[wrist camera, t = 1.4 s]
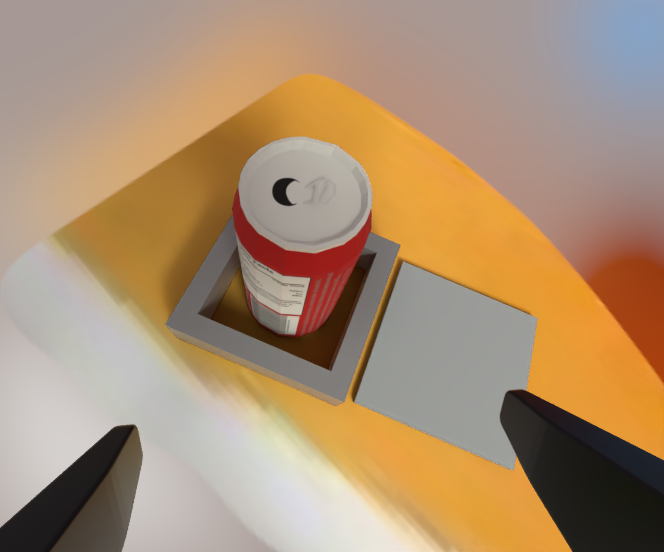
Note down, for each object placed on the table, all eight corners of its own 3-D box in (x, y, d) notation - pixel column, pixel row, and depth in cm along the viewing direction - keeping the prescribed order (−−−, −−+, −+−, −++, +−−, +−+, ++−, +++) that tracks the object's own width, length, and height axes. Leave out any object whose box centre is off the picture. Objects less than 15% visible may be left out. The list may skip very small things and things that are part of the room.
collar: (335, 406, 22) (344, 402, 20) (176, 337, 22) (164, 325, 20) (387, 263, 26) (400, 244, 24) (254, 206, 27) (252, 182, 24)
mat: (509, 469, 22) (513, 470, 22) (353, 402, 22) (354, 401, 22) (533, 319, 26) (537, 317, 26) (401, 263, 27) (403, 261, 26)
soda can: (336, 264, 26) (384, 138, 15) (330, 343, 24) (382, 263, 13) (254, 254, 25) (241, 114, 14) (240, 334, 23) (214, 241, 12)
